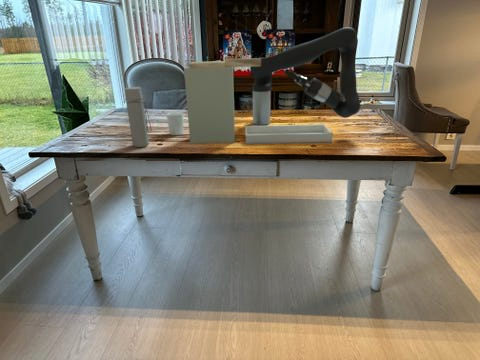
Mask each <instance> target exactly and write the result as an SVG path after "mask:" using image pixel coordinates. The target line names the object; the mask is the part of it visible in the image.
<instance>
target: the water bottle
mask: <svg viewBox="0 0 480 360" xmlns="http://www.w3.org/2000/svg"><path fill="white" fill-rule="evenodd" d="M124 89H125V90H124V92H125V93H124V94H125V98H124V99H125V103H126V111H127V115H128V116H127V118H128V124H129V129H130V136H131V142H132V146H133V147H135V148H144V147H147V146H148V145H149V144H150V141H149V135H148V134H151V133H152V126H151V121H150V115H149V113H148V108H147V105H146V99H145V98H144V96H143V92H142V87H141V86H130V87H125V88H124ZM147 117H148V119H147ZM148 122H149V127H150V131H149V129H148Z"/></svg>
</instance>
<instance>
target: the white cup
mask: <svg viewBox="0 0 480 360" xmlns="http://www.w3.org/2000/svg"><path fill="white" fill-rule="evenodd" d="M166 119H167V125H168V132H169V134H170V135H171V136H180V135H183V134H184V112H182V111H172V112H171V111H169V112H168V113H166Z"/></svg>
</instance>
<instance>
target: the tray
mask: <svg viewBox="0 0 480 360" xmlns="http://www.w3.org/2000/svg"><path fill="white" fill-rule="evenodd" d="M244 127H245V129H244V132H245V133H244V136H245V145H268V144H270V145H271V144H272V145H274V144H312V143H313V144H315V143H316V144H318V143H333V136H334V133H333V132H332V131H331V130H330V129H329V127H328V126H326V124H287V125H285V124H284V125H283V124H282V125H276V124H275V125H245V126H244Z"/></svg>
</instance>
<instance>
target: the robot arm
mask: <svg viewBox="0 0 480 360" xmlns="http://www.w3.org/2000/svg"><path fill="white" fill-rule="evenodd" d="M358 43H359V38H358V36H357V32H356V30H355V29H354V28H353V27H349V26H348V27H347V26H345V27H341V28H339V29H337V30H335V31H333V32H331V33H328V34H326V35H324V36H321V37H318V38H316V39H313V40H310V41H307V42H303V43H300V44H297V45H295V46H292V47H290V48H289V47H288V49H285V50H283V51H281V52H278V53H276V54H273V55H271V56H267V57H260V58H261V66H253V67H249V69H250V73H251V75H253V76H254V81H253V85H252V124H253V125H255V126H267V125H269V123H271V87H272V83H273V80H272V78H273V73H275V72H277V71H280V70H281V71H282V70H284V72H283V74H285V75H286V76H287V77H289V78H291V79H292V80H294V82H295V83H296V84H297V85H299V86H301V87H302V88H304V87H305V88H304V93H305V94H306V95H307V96H309V97H311V98H312V99H314V100H316V101H318V102H321V103H322V104H324V105H325V106H328V107H329V108H331V110H332V111H333V112H334V113H335V114H336V115H338V117H341V118H346V119H348V118H349V117H352V116H354V115H356V114H357V113H359V112H360V109H361V101H360V97H359V93H358V91H357V72H356V71H357V69H356V60H357V59H356V57H357V49H358ZM336 49H337V50H338V51H339V54H340V55H339V56H340V60H341V63H340V64H341V65H340V66H341V70H340V73H339V92H340V93H339V92H338V91H337V90H335V89H333V88H332V87H330V86H329V85H328V84H326V83H324V82H322V81H321V80H320V79H317V78H316V77H312V78H311V79H310V80H309V78H307V77H305V76H303V75H301V74H300V73H299V74H297V73H296V72H293V71H291V70H290V69H291V68H296V67H300V66H303V65H305V64H309V63H311V62H313V61H315V60H316V59H317V58H319V57H320V56H321V55H323V54H324V53H327V52H329V51H331V50H336ZM342 97H344V98H345V101H343V100H342ZM266 124H267V125H266Z"/></svg>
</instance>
